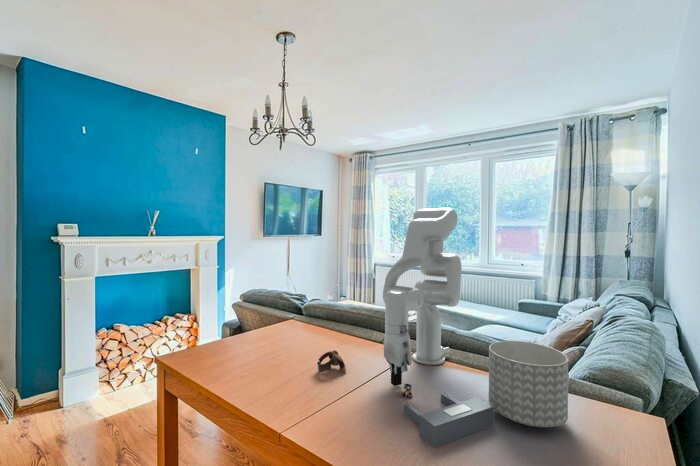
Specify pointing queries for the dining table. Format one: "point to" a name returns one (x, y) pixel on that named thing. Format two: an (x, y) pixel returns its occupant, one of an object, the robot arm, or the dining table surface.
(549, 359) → the planter
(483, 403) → the dock
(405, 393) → the composite cable
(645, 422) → the dining table surface
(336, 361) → the pottery mug
